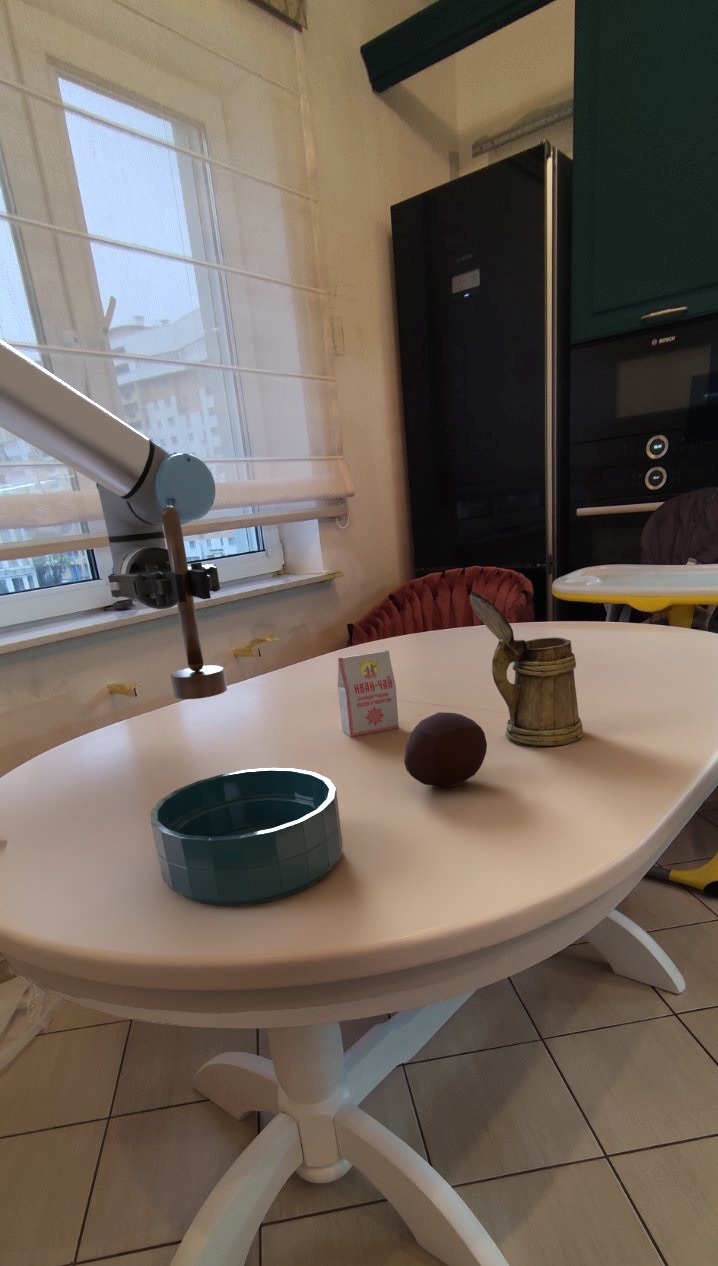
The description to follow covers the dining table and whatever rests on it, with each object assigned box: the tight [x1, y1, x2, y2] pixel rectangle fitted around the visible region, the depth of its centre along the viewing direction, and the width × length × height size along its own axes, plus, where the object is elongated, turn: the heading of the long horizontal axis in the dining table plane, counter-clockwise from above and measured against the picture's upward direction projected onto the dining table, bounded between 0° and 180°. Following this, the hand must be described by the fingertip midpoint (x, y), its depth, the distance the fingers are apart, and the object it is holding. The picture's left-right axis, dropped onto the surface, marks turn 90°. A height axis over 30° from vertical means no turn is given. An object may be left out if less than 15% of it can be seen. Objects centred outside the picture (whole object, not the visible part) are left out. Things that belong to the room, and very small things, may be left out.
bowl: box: [149, 767, 343, 906], centre depth 61 cm, size 15×15×6 cm
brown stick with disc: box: [162, 506, 228, 700], centre depth 79 cm, size 6×6×20 cm
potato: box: [403, 711, 488, 789], centre depth 74 cm, size 8×9×8 cm
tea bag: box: [337, 650, 400, 738], centre depth 95 cm, size 4×7×10 cm, turn 108°
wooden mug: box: [469, 590, 584, 748], centre depth 83 cm, size 9×14×18 cm, turn 106°
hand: (192, 586), depth 74 cm, fingers closed on brown stick with disc, 2 cm apart
